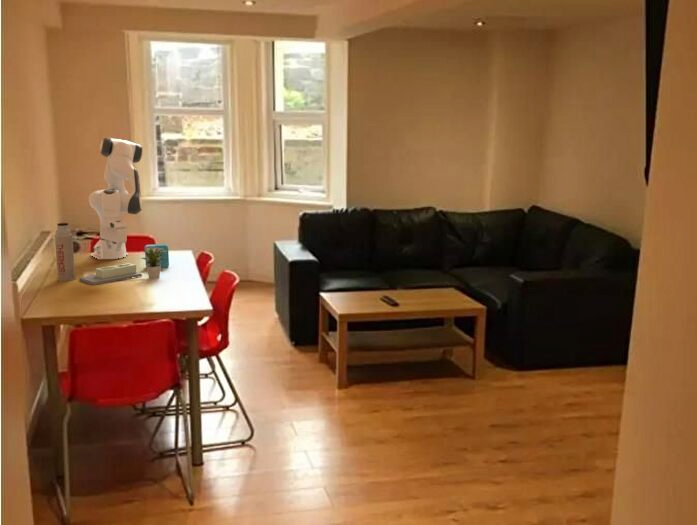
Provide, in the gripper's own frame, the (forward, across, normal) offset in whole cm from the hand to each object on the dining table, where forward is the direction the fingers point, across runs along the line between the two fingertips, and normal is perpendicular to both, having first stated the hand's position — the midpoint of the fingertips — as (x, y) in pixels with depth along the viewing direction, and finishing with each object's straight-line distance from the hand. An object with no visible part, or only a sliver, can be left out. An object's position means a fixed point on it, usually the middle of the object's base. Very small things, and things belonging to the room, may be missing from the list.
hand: (113, 249), depth 354 cm
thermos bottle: (+15, -13, -19) cm, 27 cm away
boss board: (+14, +1, -2) cm, 14 cm away
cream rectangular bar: (+13, 0, +1) cm, 13 cm away
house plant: (+14, +16, +13) cm, 24 cm away
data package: (+14, -7, +28) cm, 32 cm away
